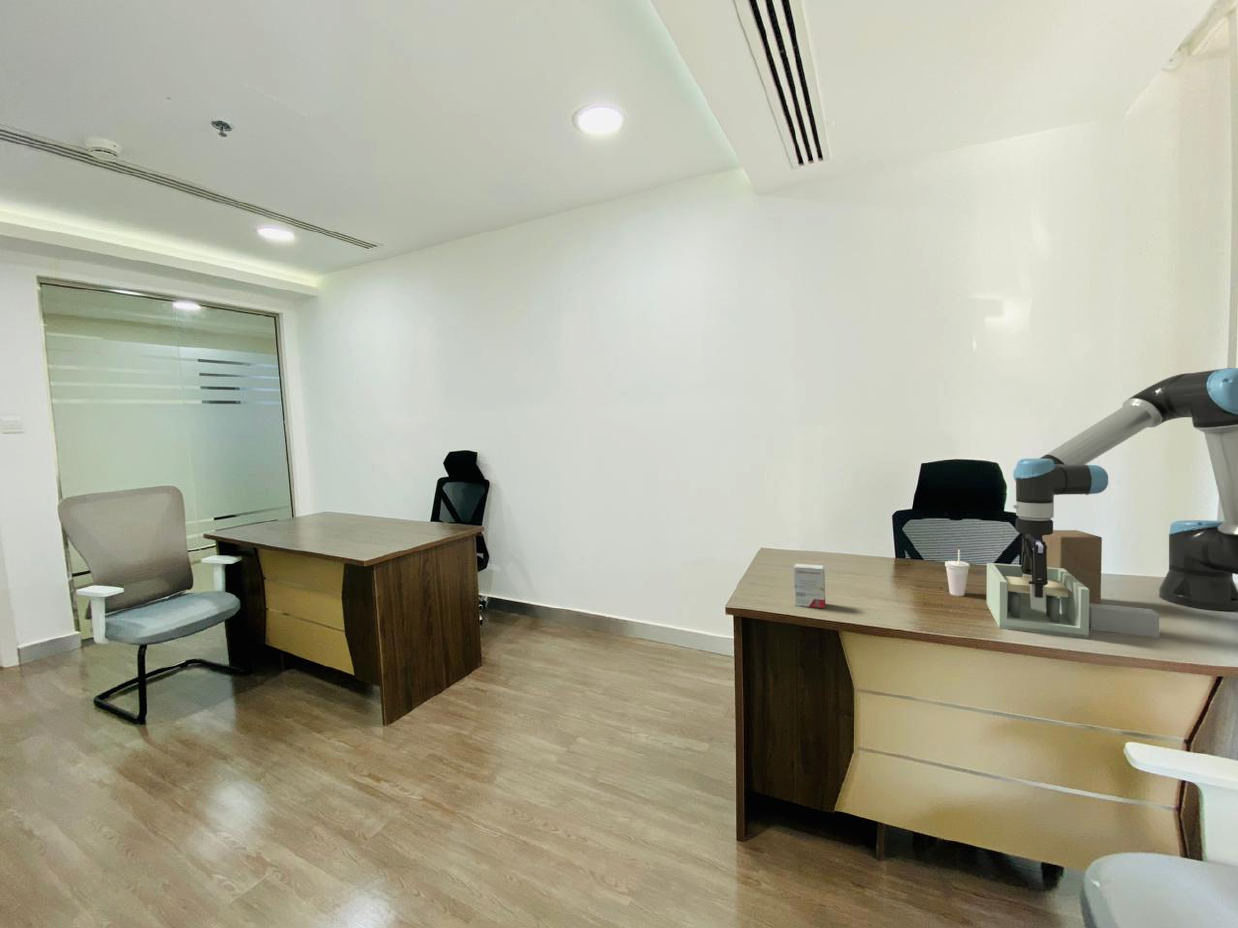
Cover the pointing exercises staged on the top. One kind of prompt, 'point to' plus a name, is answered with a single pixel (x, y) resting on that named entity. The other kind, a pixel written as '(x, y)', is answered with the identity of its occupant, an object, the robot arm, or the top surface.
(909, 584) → the top surface
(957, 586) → the smoothie
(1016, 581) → the shelf board
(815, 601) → the ink box
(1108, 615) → the block
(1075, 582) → the light green open box
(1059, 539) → the wooden block
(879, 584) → the top surface
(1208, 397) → the robot arm
